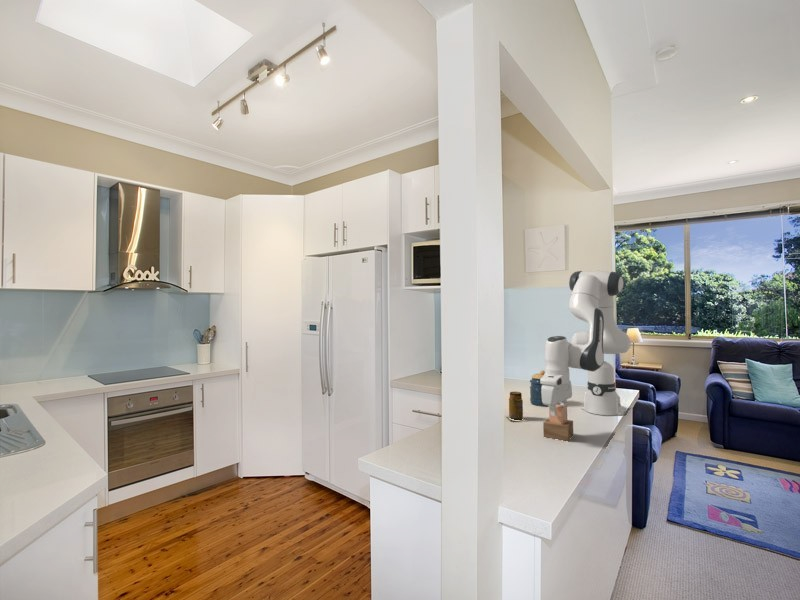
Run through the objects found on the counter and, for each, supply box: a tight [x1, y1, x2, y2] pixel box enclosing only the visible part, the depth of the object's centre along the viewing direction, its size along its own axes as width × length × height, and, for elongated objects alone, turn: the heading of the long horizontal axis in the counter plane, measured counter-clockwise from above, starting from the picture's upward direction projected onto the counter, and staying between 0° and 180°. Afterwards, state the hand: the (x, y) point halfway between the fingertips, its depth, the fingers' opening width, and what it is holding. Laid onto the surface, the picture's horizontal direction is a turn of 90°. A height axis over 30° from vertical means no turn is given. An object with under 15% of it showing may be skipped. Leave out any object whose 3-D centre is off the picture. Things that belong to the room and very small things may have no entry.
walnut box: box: [542, 417, 574, 442], centre depth 153 cm, size 9×9×6 cm
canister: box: [529, 370, 549, 407], centre depth 207 cm, size 13×13×18 cm
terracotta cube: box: [548, 403, 568, 424], centre depth 153 cm, size 5×5×6 cm
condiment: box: [508, 391, 527, 423], centre depth 178 cm, size 7×8×12 cm
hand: (558, 413), depth 154 cm, fingers open, 7 cm apart
